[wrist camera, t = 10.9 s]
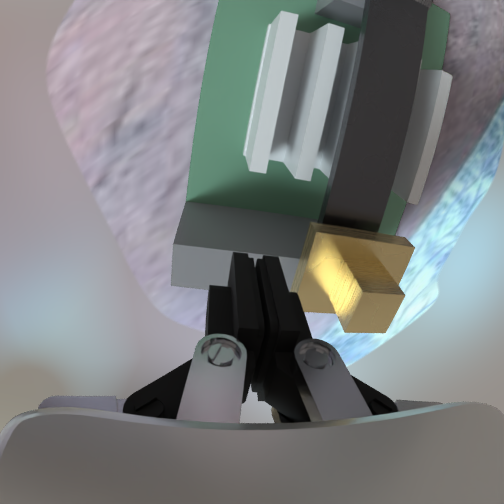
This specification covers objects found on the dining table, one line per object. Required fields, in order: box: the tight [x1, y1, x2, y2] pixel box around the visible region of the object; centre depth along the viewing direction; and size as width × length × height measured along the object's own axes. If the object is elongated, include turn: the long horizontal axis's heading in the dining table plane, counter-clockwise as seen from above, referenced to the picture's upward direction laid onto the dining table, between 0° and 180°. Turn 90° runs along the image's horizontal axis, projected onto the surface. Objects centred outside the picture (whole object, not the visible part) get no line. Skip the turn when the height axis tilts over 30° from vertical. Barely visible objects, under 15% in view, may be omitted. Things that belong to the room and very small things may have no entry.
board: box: [171, 0, 453, 292], centre depth 15 cm, size 22×15×7 cm
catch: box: [290, 222, 415, 333], centre depth 13 cm, size 4×5×3 cm
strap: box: [317, 0, 433, 233], centre depth 12 cm, size 15×3×2 cm, turn 170°
